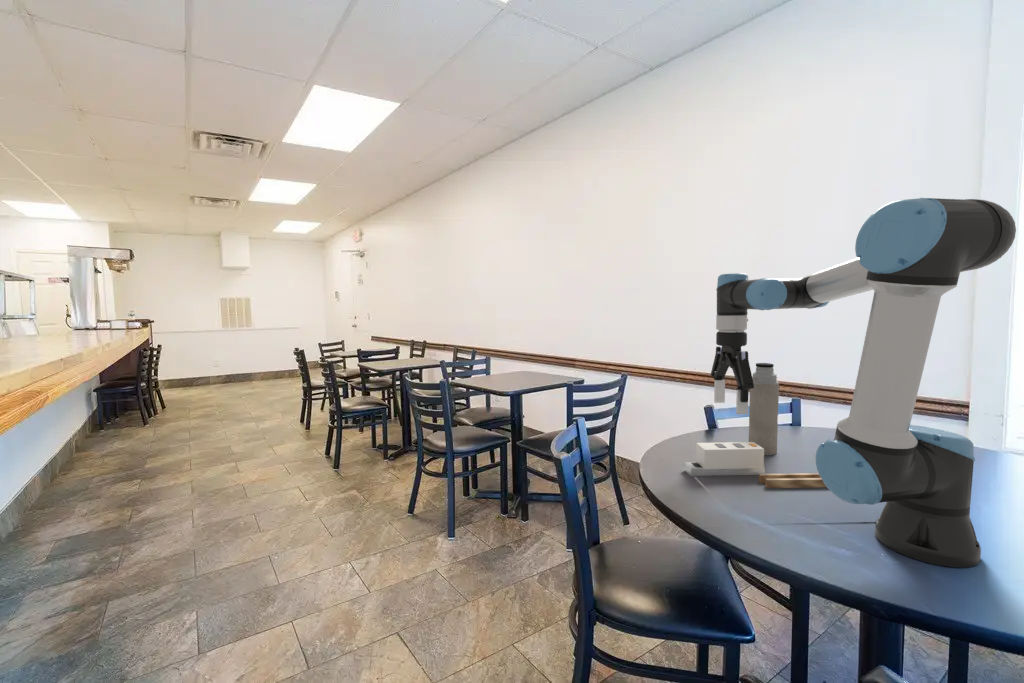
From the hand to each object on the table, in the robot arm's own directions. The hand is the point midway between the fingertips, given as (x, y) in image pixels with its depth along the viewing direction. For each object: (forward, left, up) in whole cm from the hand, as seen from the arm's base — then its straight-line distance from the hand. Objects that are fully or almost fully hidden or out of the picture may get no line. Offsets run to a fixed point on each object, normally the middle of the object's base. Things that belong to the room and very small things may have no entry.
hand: (730, 408), depth 125 cm
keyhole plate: (0, +1, -19) cm, 19 cm away
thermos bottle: (+18, -19, -19) cm, 32 cm away
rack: (-9, -13, -19) cm, 24 cm away
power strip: (0, 0, -18) cm, 18 cm away
